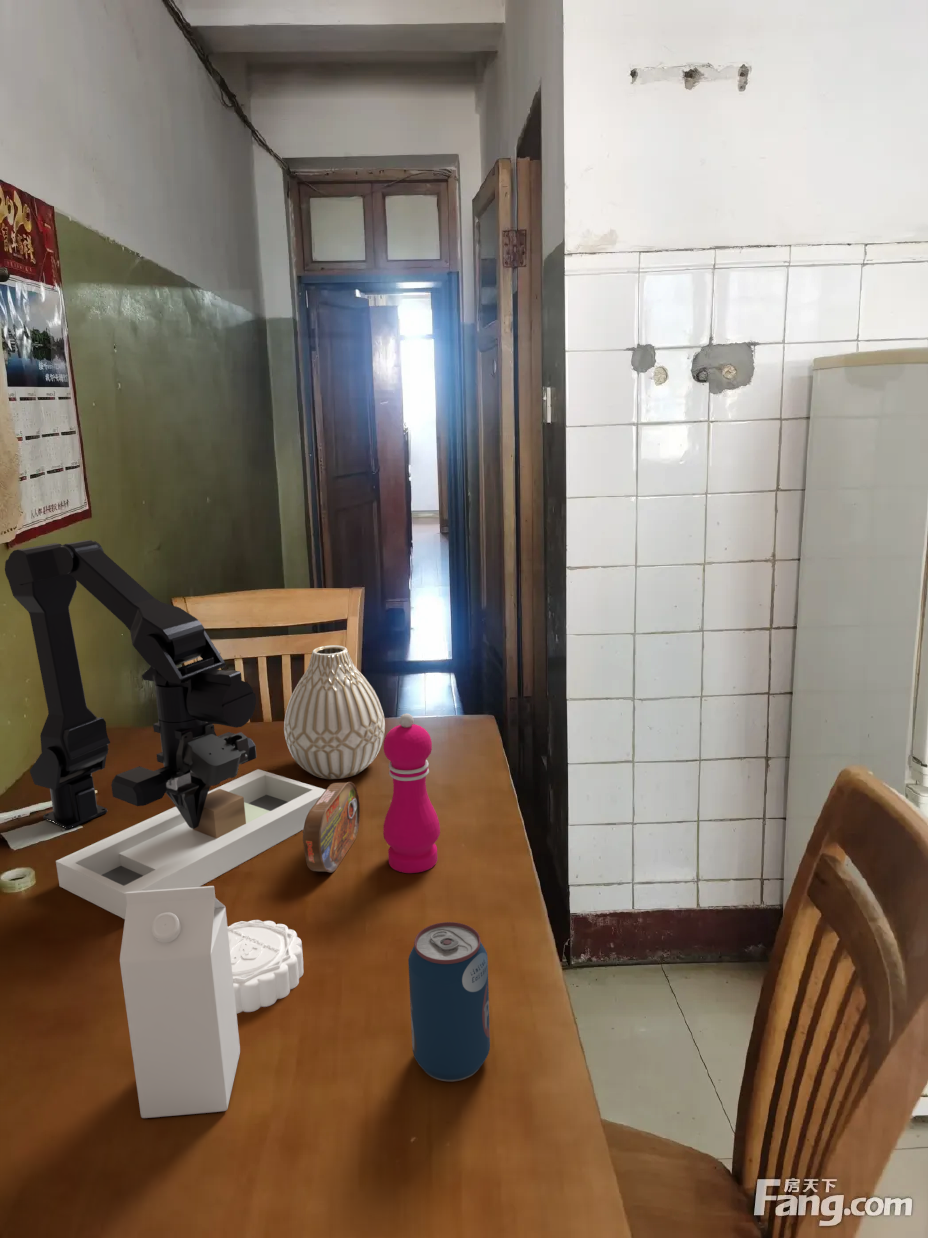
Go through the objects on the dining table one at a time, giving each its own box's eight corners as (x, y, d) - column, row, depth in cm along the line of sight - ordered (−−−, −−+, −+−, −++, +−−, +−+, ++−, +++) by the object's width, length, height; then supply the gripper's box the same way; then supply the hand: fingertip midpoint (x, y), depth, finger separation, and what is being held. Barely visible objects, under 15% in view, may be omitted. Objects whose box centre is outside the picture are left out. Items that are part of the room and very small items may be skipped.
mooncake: (160, 990, 92) (156, 959, 91) (249, 932, 101) (246, 903, 101) (241, 1033, 85) (237, 1000, 84) (328, 966, 95) (325, 936, 94)
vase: (308, 798, 135) (298, 670, 130) (274, 763, 148) (264, 646, 143) (403, 774, 142) (398, 652, 137) (363, 743, 156) (356, 631, 151)
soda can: (505, 1066, 80) (503, 946, 77) (438, 1099, 76) (433, 975, 73) (463, 1022, 85) (459, 909, 82) (399, 1052, 82) (392, 934, 79)
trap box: (59, 886, 112) (55, 861, 111) (260, 790, 138) (258, 769, 137) (132, 923, 103) (129, 896, 102) (331, 813, 129) (330, 791, 128)
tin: (325, 885, 110) (321, 822, 108) (301, 883, 111) (296, 820, 109) (363, 828, 125) (360, 772, 123) (341, 827, 125) (338, 771, 123)
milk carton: (161, 1060, 82) (137, 870, 77) (240, 1053, 82) (221, 865, 78) (140, 1120, 75) (112, 916, 70) (227, 1113, 75) (205, 910, 71)
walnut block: (192, 829, 121) (189, 802, 120) (222, 815, 125) (219, 788, 124) (216, 839, 119) (213, 811, 118) (246, 824, 122) (243, 797, 121)
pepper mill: (450, 853, 117) (445, 708, 112) (425, 880, 111) (418, 727, 106) (402, 843, 120) (394, 701, 115) (374, 869, 114) (365, 720, 109)
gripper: (158, 750, 103) (172, 874, 106) (280, 705, 118) (288, 815, 121) (102, 732, 109) (117, 850, 113) (224, 691, 124) (233, 796, 128)
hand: (193, 827), depth 118 cm, fingers closed
